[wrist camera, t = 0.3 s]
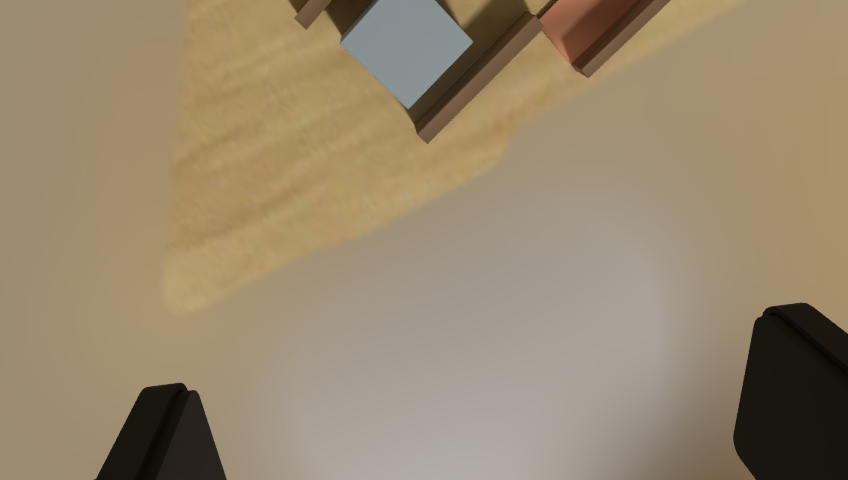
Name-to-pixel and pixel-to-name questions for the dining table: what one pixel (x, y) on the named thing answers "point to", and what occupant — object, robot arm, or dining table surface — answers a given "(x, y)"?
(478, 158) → the dining table surface
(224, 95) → the dining table surface
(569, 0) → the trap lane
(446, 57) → the slate block
